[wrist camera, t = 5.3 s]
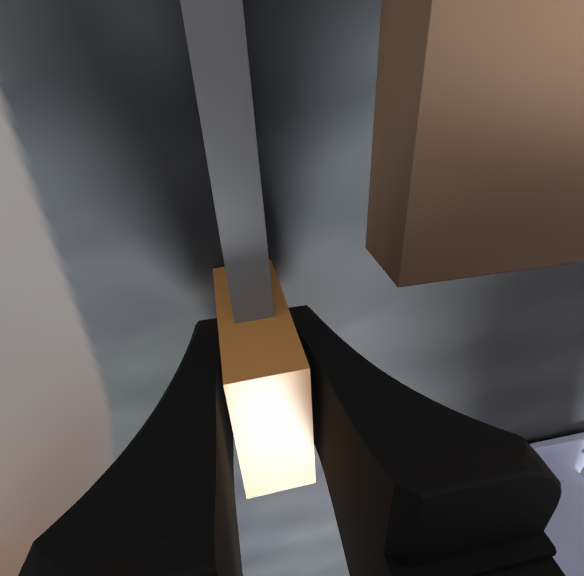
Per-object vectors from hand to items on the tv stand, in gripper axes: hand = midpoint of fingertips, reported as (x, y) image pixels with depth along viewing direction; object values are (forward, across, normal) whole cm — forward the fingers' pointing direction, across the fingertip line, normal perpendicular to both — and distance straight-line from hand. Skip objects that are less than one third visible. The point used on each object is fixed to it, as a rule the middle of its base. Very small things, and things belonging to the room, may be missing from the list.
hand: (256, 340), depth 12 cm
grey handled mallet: (+2, 0, -5) cm, 5 cm away
